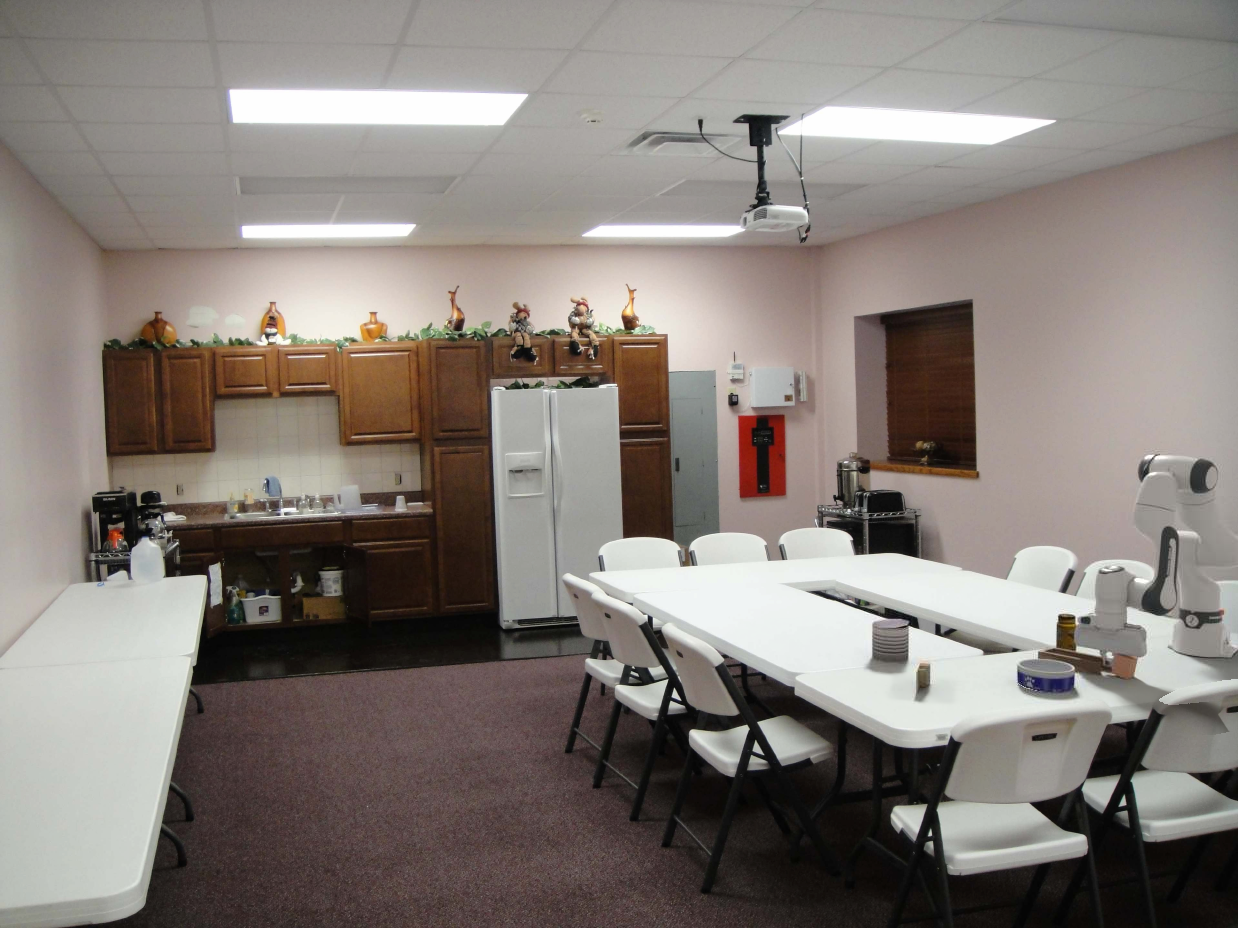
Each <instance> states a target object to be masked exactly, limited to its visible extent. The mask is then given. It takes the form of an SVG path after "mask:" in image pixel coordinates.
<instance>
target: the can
mask: <svg viewBox="0 0 1238 928" xmlns="http://www.w3.org/2000/svg"><path fill="white" fill-rule="evenodd" d="M909 623H910V621H909V620H907V619H902V618H884V619H881V620H875V621H873V622H872V624H871V626H872V627H871V628H872V633H871V634H872V635H871V637H872V638H871V639H872V640H871V641H872V642H871V646H872V647H871V654H872V655H871V658H872V659H873V660H874V661H877V662H881V663H887V664H899V663H901V664H902V663H905V662H907V661H909V649H910V647H909V641H910V639H909V638H910V636H909V635H910V634H909V632H910V626H909Z"/></svg>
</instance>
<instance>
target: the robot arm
mask: <svg viewBox="0 0 1238 928" xmlns="http://www.w3.org/2000/svg"><path fill="white" fill-rule="evenodd" d="M1137 475H1138V476H1137V477H1138V479H1139V481H1140V483H1141V484H1140V486H1139V489H1138V492H1137V495H1136V497H1135V501H1134V504H1133V505H1134V506H1133V509H1132V515H1131V523H1132V525H1133V527H1134V529H1135V530H1136V531H1137V532H1138V533H1139V534H1140V535H1141V536H1142V537H1144V538H1146V539H1147V540H1148V541H1149V542H1150V543H1151V544H1152V545H1153V547H1154V548H1155V565H1154V573H1153V574H1154V575H1153V578H1152V579H1150V578H1146V577H1143V576H1139V575H1138V576H1137V575H1135V574H1133V573H1130V572H1129V571H1127V570H1126V568H1125V567H1123V566H1120V565H1107V566H1102V567H1101V568H1099V569H1098V571H1097V572H1096V576H1095V582H1094V599H1095V606H1094V608H1093V609H1094V611H1093V612H1091V613H1085V614H1082V615H1079V616H1077V621H1076V622H1077V624H1076V625H1077V626H1076V628H1075V635H1074V642H1075V644H1076V647H1080V648H1081V647H1082V648H1086V649H1092V650H1097V651H1099V656H1101V657H1102V659H1103V665H1104V666H1109V667H1113V665H1114V660H1115V656H1116V654H1123V655H1128V656H1133V657H1138V659H1139V658H1143V657H1144V656H1146V655H1147V653H1148V647H1147V645H1148V644H1147V640H1146V639H1147V634H1148V633H1147V630H1146V629H1145V628H1144V627H1143V626H1142V625H1140V624H1133V623H1128V608H1131V609H1135V610H1139V611H1142V612H1146V613H1148V614H1151V615H1154V616H1157V617H1163V616H1165V615H1168V614H1169V613H1170V612H1172V611H1173V610H1174V608H1175V607H1176V606H1177V603H1178V590H1177V580H1178V585H1179V594H1180V595H1179V596H1180V603H1179V604H1180V606H1179V607H1178V610H1177V613H1178V615H1177V616H1178V620H1177V621H1175V622H1174V623H1173V631H1172V639H1171V640H1172V641H1171V642H1169V643H1167V647H1168V648H1169V649H1172V650H1173V651H1175V652H1177V653H1180V654H1183V655H1189V656H1194V657H1201V658H1232V657H1233V656H1234V655H1235V654H1236V653H1235V652H1238V645H1236V644H1234V643H1233V644H1232V643H1231V631H1230V630H1229V629H1228V627H1227V626H1226V625H1225V624H1224V623H1223V616H1224V615H1225V609H1224V608H1222V609H1221V588H1220V586H1219V584H1218V583H1217V582H1216V581H1215V580H1213V579H1212V578H1211V577H1208V576H1206V575H1205V574H1204V572H1203V571H1202V568H1203V567H1204V568H1205V567H1206V568H1214V569H1223V570H1224V569H1234V568H1238V535H1237V534H1235V533H1234V532H1232V531H1231V530H1230V529H1229V528H1228V527H1227V526H1226V525H1225V523H1224V522H1223V520H1222V518H1221V517H1220V514H1219V510H1218V505H1217V497H1216V491H1215V487H1216V485H1217V483H1218V480H1219V479H1218V478H1219V471H1218V468H1217V466H1216V465H1215V464H1214V462H1212V461H1210V460H1207V459H1205V458H1197V457H1192V456H1185V455H1171V454H1160V453H1155V454H1153V453H1152V454H1148V455H1146V456H1145V457H1144V458H1142V459H1141V461H1140V463H1139V465H1138V469H1137ZM1175 514H1176V517H1177V519H1178V521H1179V522H1180V523H1181V525H1183V526H1184V527H1186V528H1187V529H1189V530H1191V531H1189V530H1176V527H1175ZM1201 567H1202V568H1201ZM1108 653H1111V656H1112V660H1109V659H1108V658H1109V657H1108V656H1107V654H1108ZM1234 653H1235V654H1234ZM1233 654H1234V655H1233Z"/></svg>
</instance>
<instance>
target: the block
mask: <svg viewBox="0 0 1238 928" xmlns="http://www.w3.org/2000/svg"><path fill="white" fill-rule="evenodd" d="M1138 659H1139V657H1133V656H1128V655H1123V654H1116V656H1115V660H1114V665H1113V669H1112V670H1111V674H1112V675H1114V676H1116V677H1117V676H1118V677H1120V678H1122V679H1125V680H1129V679H1132V678H1134V676H1135V673H1136V667H1137V664H1138Z"/></svg>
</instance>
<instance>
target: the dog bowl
mask: <svg viewBox="0 0 1238 928" xmlns="http://www.w3.org/2000/svg"><path fill="white" fill-rule="evenodd" d="M1016 669H1017V670H1016V671H1017V672H1016V678H1017V679H1016V680H1017V684H1018V683H1019V684H1020V685H1022V686H1024V687H1026V688H1030V689H1033V690H1032V691H1034V690H1037V691H1036V692H1039V691H1043V692H1042V693H1048V692H1050V693H1051V694H1057V693H1067V692H1072V691H1073V690H1074V689H1075V678H1076V677H1075V675H1076V670H1075V668H1074V666H1072V665H1070V664H1068V663H1065V662H1061V661H1055V660H1048V659H1038V658H1029V659H1022V660H1018V662H1017V663H1016ZM1019 684H1018V685H1019ZM1020 685H1019V686H1020ZM1026 688H1025V689H1026Z"/></svg>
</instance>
